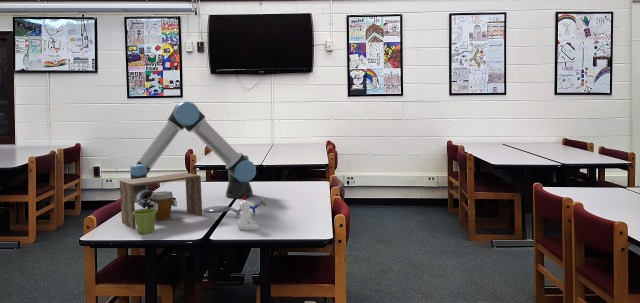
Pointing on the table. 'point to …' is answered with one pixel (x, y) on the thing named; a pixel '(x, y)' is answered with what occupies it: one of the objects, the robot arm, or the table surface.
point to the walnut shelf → (191, 182)
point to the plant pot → (145, 220)
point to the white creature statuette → (246, 218)
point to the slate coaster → (216, 209)
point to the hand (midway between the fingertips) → (166, 205)
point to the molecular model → (250, 207)
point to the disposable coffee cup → (163, 204)
